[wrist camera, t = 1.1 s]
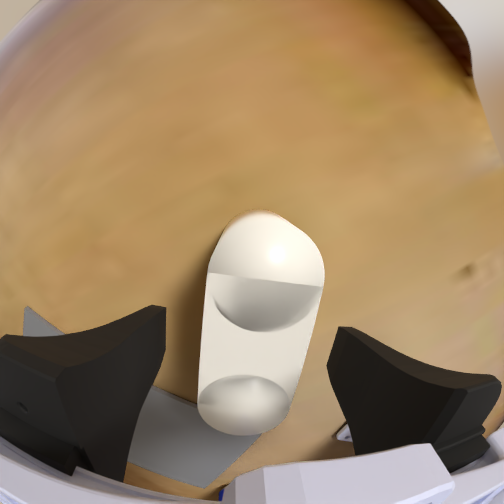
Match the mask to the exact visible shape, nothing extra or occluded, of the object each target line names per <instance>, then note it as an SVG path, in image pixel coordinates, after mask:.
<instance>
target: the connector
mask: <svg viewBox="0 0 504 504" xmlns="http://www.w3.org/2000/svg"><path fill="white" fill-rule="evenodd" d="M324 276H325V272H324V264H323V260H322V257H321V255H320V252H319V250H318V248H317V247H316V245H315V244H314V242H313V241H312V240H311V239H310V238H309V237H308V236H307V235H306V234H305V233H304V232H302V231H301V230H300V229H298V228H297V227H295V226H294V225H292V224H291V223H289V222H288V221H287V220H285V219H284V218H282V217H281V216H279V215H278V214H276V213H274V212H272V211H269V210H264V209H252V210H248V211H245V212H242V213H240V214H238V215H237V216H235V217H234V218H233V219H232V220H231V221H230V222H229V223H228V224H227V226H226V227H225V229H224V231H223V233H222V235H221V237H220V240H219V242H218V244H217V246H216V248H215V250H214V252H213V255H212V257H211V259H210V262H209V266H208V272H207V281H206V291H205V302H204V313H203V325H202V337H201V351H200V365H199V382H198V401H197V406H198V411H199V413H200V415H201V417H202V419H203V420H204V421H205V422H206V423H207V424H208V425H210V426H211V427H213V428H214V429H216V430H218V431H221V432H224V433H227V434H231V435H238V436H249V435H256V434H261V433H264V432H267V431H269V430H271V429H273V428H275V427H276V426H278V425H279V424H280V423H281V422H282V421H283V420H284V419H285V417H286V416H287V414H288V412H289V409H290V406H291V403H292V400H293V397H294V394H295V390H296V387H297V384H298V381H299V377H300V374H301V371H302V367H303V364H304V360H305V357H306V353H307V350H308V346H309V342H310V339H311V335H312V331H313V327H314V323H315V319H316V315H317V311H318V307H319V303H320V299H321V295H322V290H323V285H324Z"/></svg>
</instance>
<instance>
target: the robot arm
mask: <svg viewBox="0 0 504 504" xmlns="http://www.w3.org/2000/svg"><path fill="white" fill-rule="evenodd" d="M165 350H166V307H161V306H155V305H150V306H148V307H145V308H143V309H141V310H139V311H136V312H134V313H132V314H130V315H128V316H126V317H123V318H121V319H119V320H116V321H114V322H111V323H109V324H106V325H103V326H100V327H97V328H94V329H90V330H86V331H82V332H77V333H71V334H65V335H58V336H39V337H34V336H17V335H8V334H6V335H4V336H3V337H2V338H1V339H0V502H1V503H3V504H504V427H502V428H501V429H499V430H497V431H495V432H494V433H492V434H491V435H489V436H488V437H487V438H486V439H485V438H484V437H483V436H482V434H483V433H484V432H485V428H484V427H483V426H482V424H483V422H484V421H485V419H486V418H487V416H488V415H489V413H490V412H491V410H492V409H493V407H494V406H495V404H496V402H497V400H498V398H499V396H500V393H501V388H502V385H501V382H500V381H499V380H498V379H497V378H496V377H495V376H493V375H488V374H470V373H463V372H456V371H451V370H446V369H443V368H439V367H435V366H432V365H429V364H426V363H423V362H420V361H418V360H415V359H413V358H410V357H408V356H406V355H404V354H402V353H400V352H398V351H396V350H394V349H392V348H390V347H388V346H386V345H385V344H383V343H381V342H379V341H377V340H376V339H374V338H372V337H370V336H369V335H367V334H365V333H363V332H361V331H359V330H357V329H355V328H352V327H338V330H337V334H336V337H335V340H334V344H333V347H332V350H331V353H330V356H329V359H328V362H327V370H328V374H329V378H330V382H331V385H332V388H333V390H334V393H335V395H336V397H337V400H338V402H339V404H340V407H341V409H342V412H343V414H344V416H345V419H346V421H347V424H346V425H345V426H344V427H343V428H342V429H341V430H340V431H339V432H338V433H337V435H336V436H337V439H338V440H343V441H349V442H353V445H354V450H355V455H356V456H351V457H344V458H336V459H326V460H315V461H298V462H290V463H283V464H276V465H267V466H263V467H260V468H258V469H255V470H252V471H249V472H246V473H244V474H241V475H239V476H237V477H235V479H234V480H233V481H232V482H231V483H230V484H229V485H228V486H227V487H226V488H225V489H224V493H223V498H222V501H209V500H201V499H193V498H187V497H181V496H175V495H170V494H165V493H160V492H155V491H151V490H147V489H143V488H139V487H135V486H132V485H128V484H125V483H123V480H124V474H125V469H126V464H127V459H128V455H129V450H130V446H131V442H132V438H133V434H134V431H135V427H136V424H137V420H138V417H139V414H140V411H141V409H142V406H143V404H144V402H145V399H146V397H147V395H148V393H149V391H150V389H151V387H152V384H153V382H154V380H155V378H156V376H157V374H158V371H159V369H160V367H161V363H162V360H163V357H164V353H165Z"/></svg>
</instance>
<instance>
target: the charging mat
mask: <svg viewBox="0 0 504 504" xmlns="http://www.w3.org/2000/svg"><path fill="white" fill-rule="evenodd" d="M58 335H65V334H64V333H63V332H61V331H60V330H58V329H57V328H55V327H54V326H53V325H51V324H50V323H49V322H47V321H46V320H45V319H43V318H42V317H41V316H39V315H38V314H37V313H36V312H34V311H33V310H32V309H31V308H29V307H28V306H27V307H26V308H25V312H24V327H23V336H34V337H39V336H58ZM261 434H262V433H261ZM261 434H256V435H249V436H238V435H231V434H227V433H224V432H221V431H218V430H216V429H214V428H213V427H211V426H210V425H208V424H207V423H206V422H205V421H204V420H203V419H202V417H201V415H200V413H199V411H198V406H197V404H194V403H192V402H189V401H187V400H184V399H182V398H180V397H177V396H175V395H173V394H171V393H168V392H166V391H164V390H162V389H160V388H157V387H155V386H153V385H152V387H151V389H150V391H149V393H148V395H147V397H146V399H145V402H144V404H143V406H142V409H141V411H140V414H139V417H138V420H137V424H136V427H135V431H134V434H133V438H132V442H131V446H130V450H129V455H128V459H127V461H128V462H130V463H132V464H135V465H137V466H139V467H142V468H144V469H147V470H149V471H152V472H155V473H157V474H160V475H163V476H165V477H168V478H171V479H174V480H177V481H180V482H183V483H187V484H190V485H193V486H197V487H201V488H206V487H207V486H208V485H209V484H210V483H211V482H213V481H214V480H215V479H216V478H217V477H218V476H219V475H221V474H222V473H223V472H224V471H225V470H226V469H227V468H228V467H229V466H230V465H231V464H232V463H233V462H235V461H236V460H237V459H238V458H239V457H240V456H241V455H242V454H243V453H244V452H245V451H246V450H247V449H248V448H249V447H250V446H251V445H252V444H253V443H254V442H255V441H256V440H257V439H258V438H259V436H260V435H261Z"/></svg>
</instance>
